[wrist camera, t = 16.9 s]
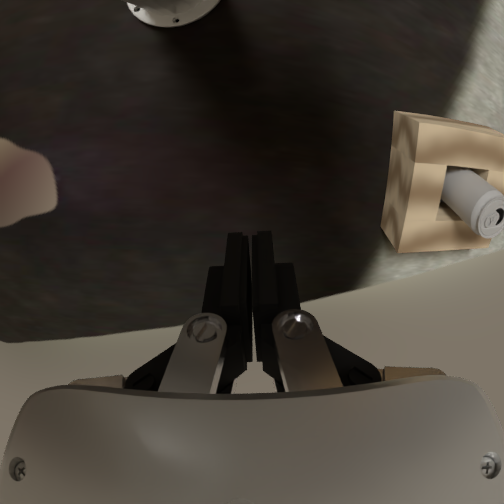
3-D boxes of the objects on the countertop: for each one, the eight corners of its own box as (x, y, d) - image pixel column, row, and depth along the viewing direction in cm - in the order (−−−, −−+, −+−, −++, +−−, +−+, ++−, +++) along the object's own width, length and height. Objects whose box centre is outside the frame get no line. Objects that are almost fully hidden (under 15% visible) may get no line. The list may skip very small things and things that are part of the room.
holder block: (394, 110, 34) (419, 122, 28) (487, 126, 34) (516, 141, 28) (380, 226, 45) (397, 253, 39) (466, 224, 44) (488, 247, 38)
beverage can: (465, 191, 38) (510, 231, 29) (434, 203, 40) (475, 248, 30) (462, 154, 35) (513, 189, 25) (428, 165, 37) (476, 204, 27)
